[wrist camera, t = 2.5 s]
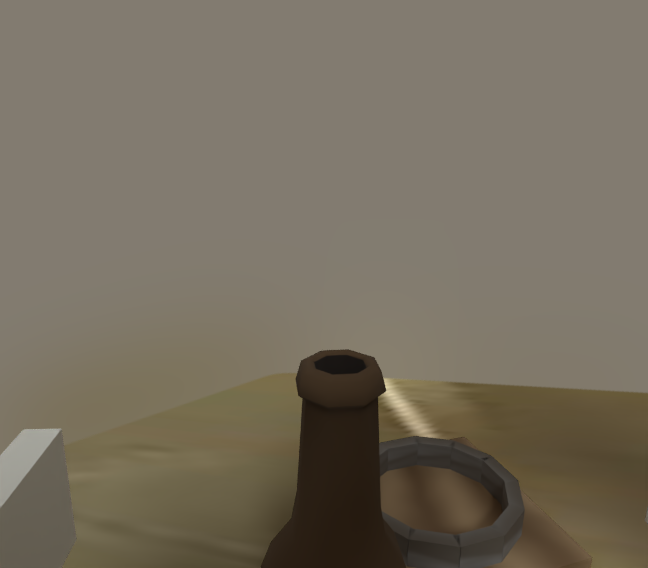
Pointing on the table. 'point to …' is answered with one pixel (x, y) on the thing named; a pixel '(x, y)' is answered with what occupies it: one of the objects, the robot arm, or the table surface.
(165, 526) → the table surface
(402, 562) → the beer bottle
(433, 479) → the collar stand
